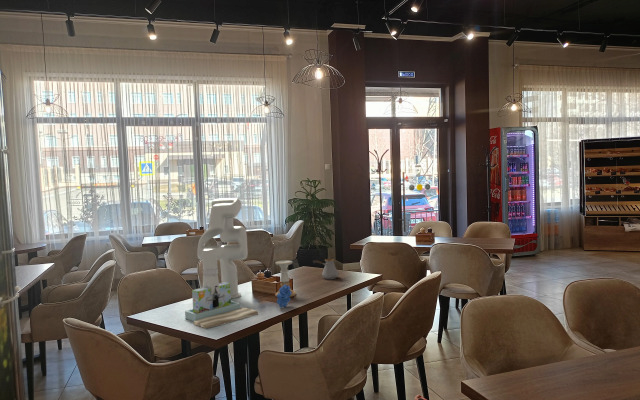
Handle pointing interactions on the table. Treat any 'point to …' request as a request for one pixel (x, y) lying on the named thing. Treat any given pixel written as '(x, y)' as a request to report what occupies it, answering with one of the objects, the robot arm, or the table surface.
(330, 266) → the coffee pot
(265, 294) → the table surface
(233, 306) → the bin
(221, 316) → the board
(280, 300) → the grapes
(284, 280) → the candle holder
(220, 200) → the robot arm
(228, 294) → the snack box
